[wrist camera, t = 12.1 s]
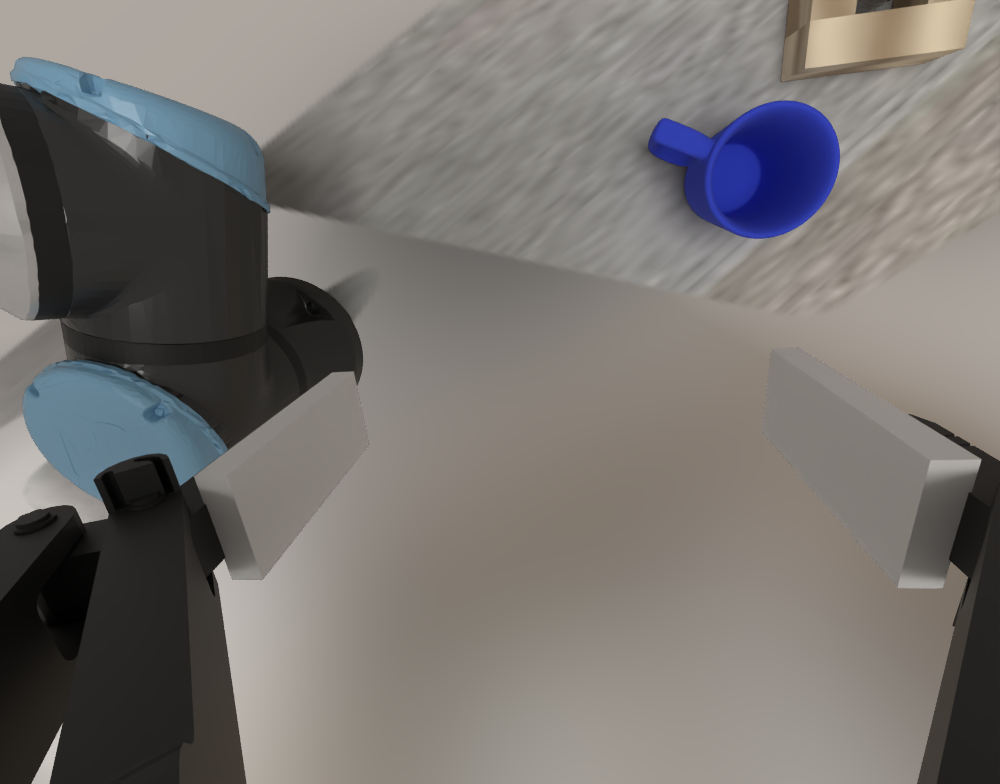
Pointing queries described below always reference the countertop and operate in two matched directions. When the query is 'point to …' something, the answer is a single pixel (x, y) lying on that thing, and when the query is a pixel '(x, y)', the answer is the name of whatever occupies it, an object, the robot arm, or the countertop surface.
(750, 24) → the countertop surface
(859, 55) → the hole block
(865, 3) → the peg
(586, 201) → the countertop surface
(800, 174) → the mug
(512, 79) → the countertop surface
